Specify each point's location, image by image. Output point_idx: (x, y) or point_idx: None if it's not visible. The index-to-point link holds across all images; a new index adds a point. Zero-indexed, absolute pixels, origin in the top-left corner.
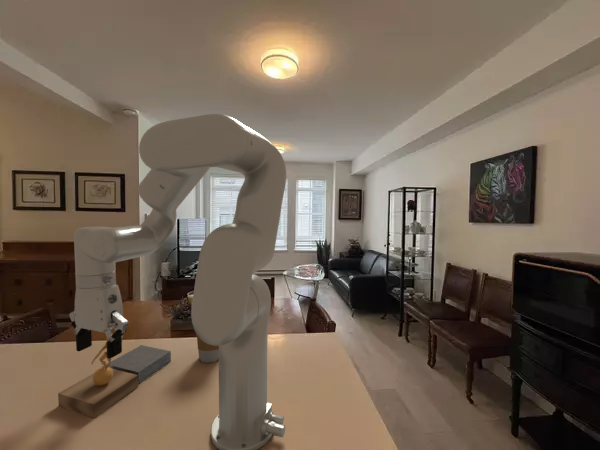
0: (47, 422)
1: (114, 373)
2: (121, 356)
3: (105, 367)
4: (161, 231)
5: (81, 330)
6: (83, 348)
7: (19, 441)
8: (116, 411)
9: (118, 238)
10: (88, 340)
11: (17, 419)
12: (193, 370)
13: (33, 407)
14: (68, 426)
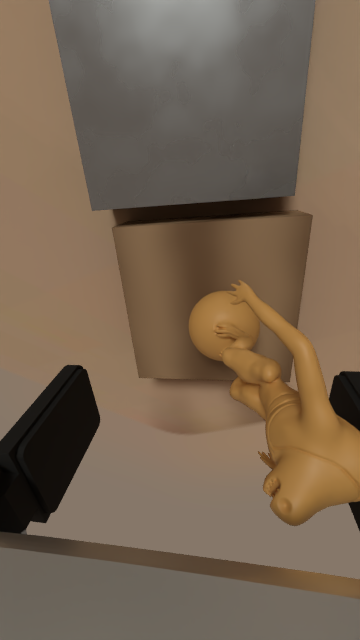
0: (186, 391)
1: (195, 247)
2: (78, 120)
3: (232, 338)
4: None
5: (13, 531)
6: (94, 409)
7: (194, 429)
8: (322, 324)
9: None
10: (68, 412)
11: (118, 400)
12: None
13: (100, 372)
14: None
